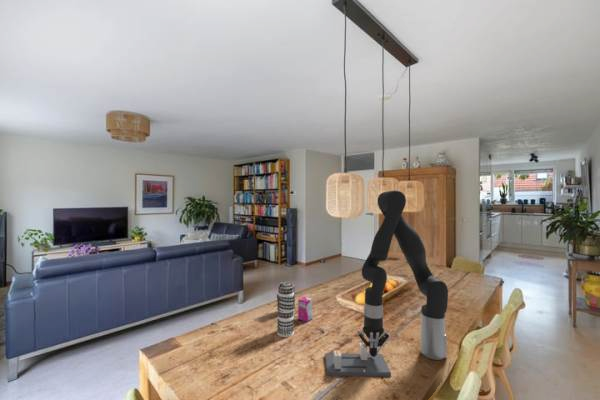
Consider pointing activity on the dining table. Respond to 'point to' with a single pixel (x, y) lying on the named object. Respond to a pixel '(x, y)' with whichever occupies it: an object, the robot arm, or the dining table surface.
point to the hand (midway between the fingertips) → (373, 355)
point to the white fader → (363, 351)
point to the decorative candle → (285, 309)
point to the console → (357, 365)
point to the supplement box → (305, 309)
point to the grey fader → (337, 359)
